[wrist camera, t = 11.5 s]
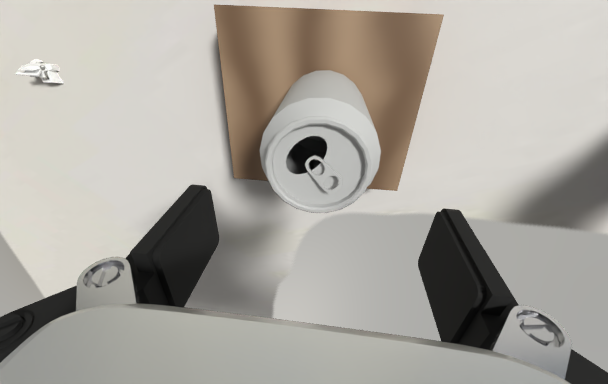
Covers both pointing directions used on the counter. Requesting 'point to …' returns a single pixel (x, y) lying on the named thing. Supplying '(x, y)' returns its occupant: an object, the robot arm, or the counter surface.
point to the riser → (323, 56)
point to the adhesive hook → (41, 71)
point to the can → (321, 144)
